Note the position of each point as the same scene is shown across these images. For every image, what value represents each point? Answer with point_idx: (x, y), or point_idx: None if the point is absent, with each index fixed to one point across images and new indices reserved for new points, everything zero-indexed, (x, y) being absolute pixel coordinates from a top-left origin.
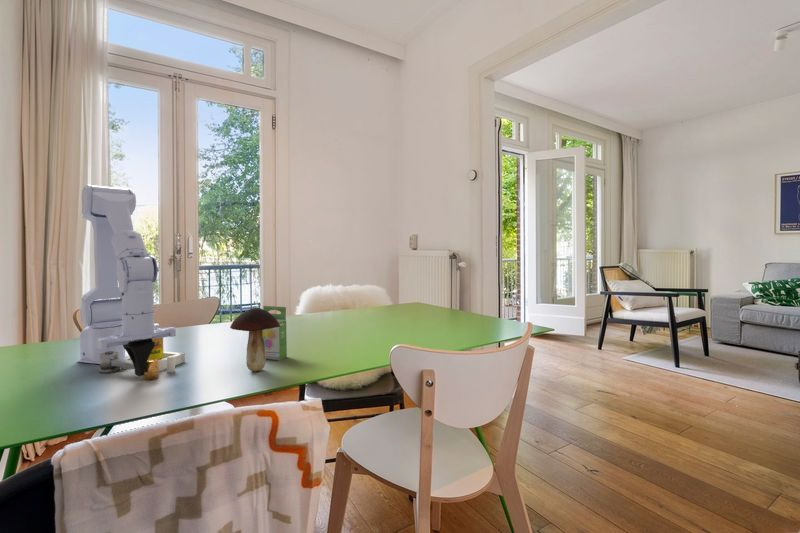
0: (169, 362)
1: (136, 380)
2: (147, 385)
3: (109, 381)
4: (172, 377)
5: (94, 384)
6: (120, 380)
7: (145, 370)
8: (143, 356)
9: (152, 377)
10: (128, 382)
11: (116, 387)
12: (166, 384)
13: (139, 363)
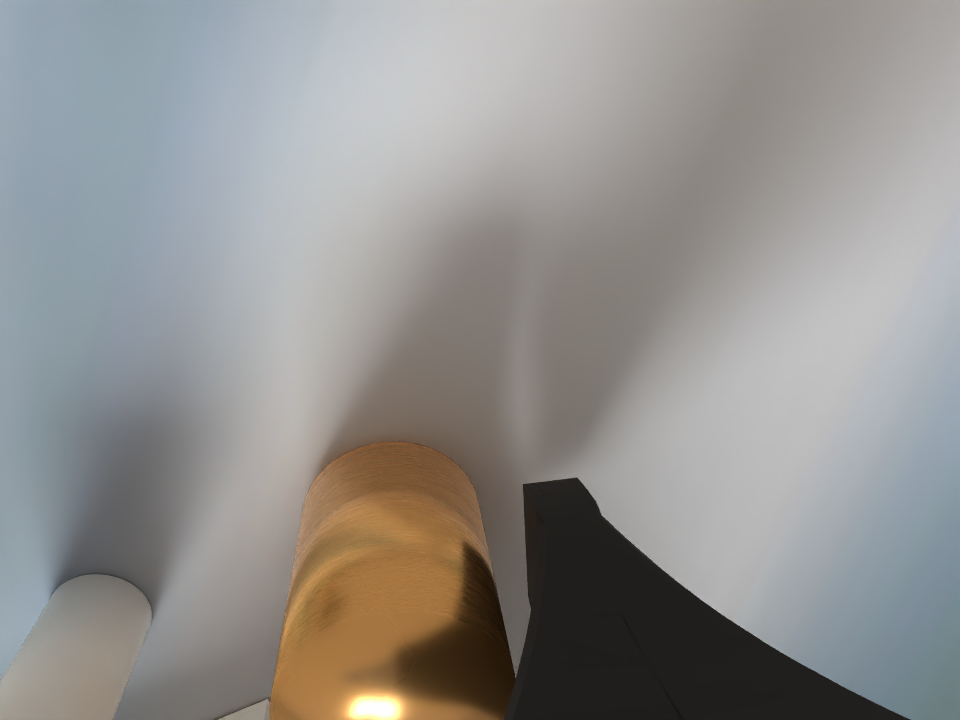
0: (73, 706)
1: None
2: (533, 271)
3: None
4: (157, 366)
5: None
6: None
7: (488, 567)
8: (655, 678)
9: (408, 451)
10: None
11: (776, 471)
12: (332, 92)
13: (670, 585)
